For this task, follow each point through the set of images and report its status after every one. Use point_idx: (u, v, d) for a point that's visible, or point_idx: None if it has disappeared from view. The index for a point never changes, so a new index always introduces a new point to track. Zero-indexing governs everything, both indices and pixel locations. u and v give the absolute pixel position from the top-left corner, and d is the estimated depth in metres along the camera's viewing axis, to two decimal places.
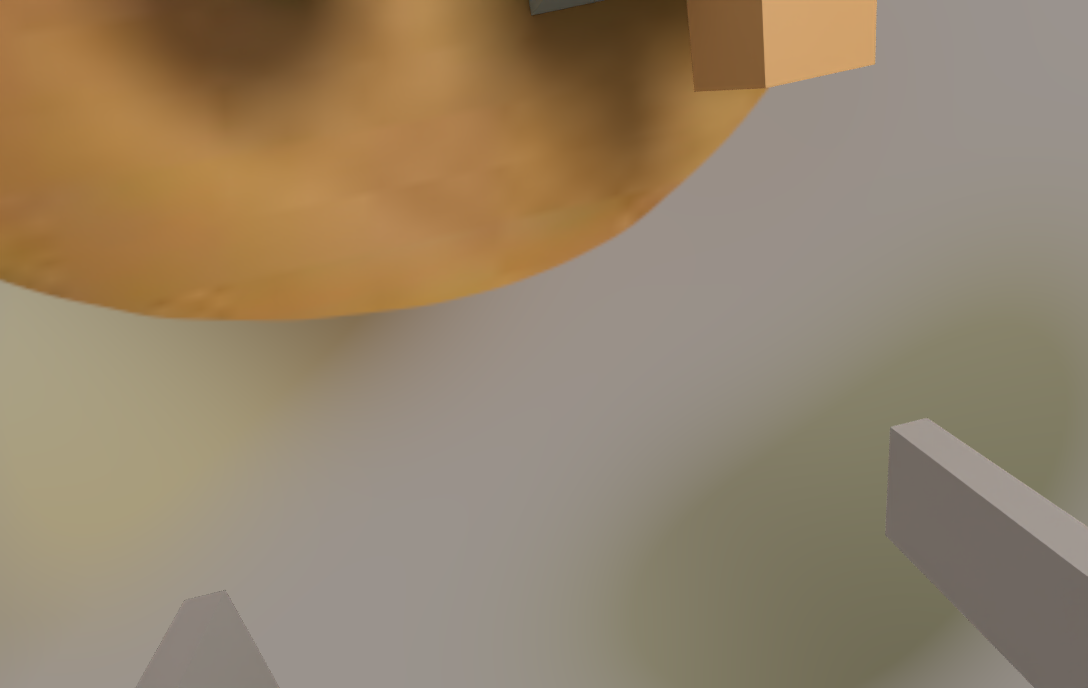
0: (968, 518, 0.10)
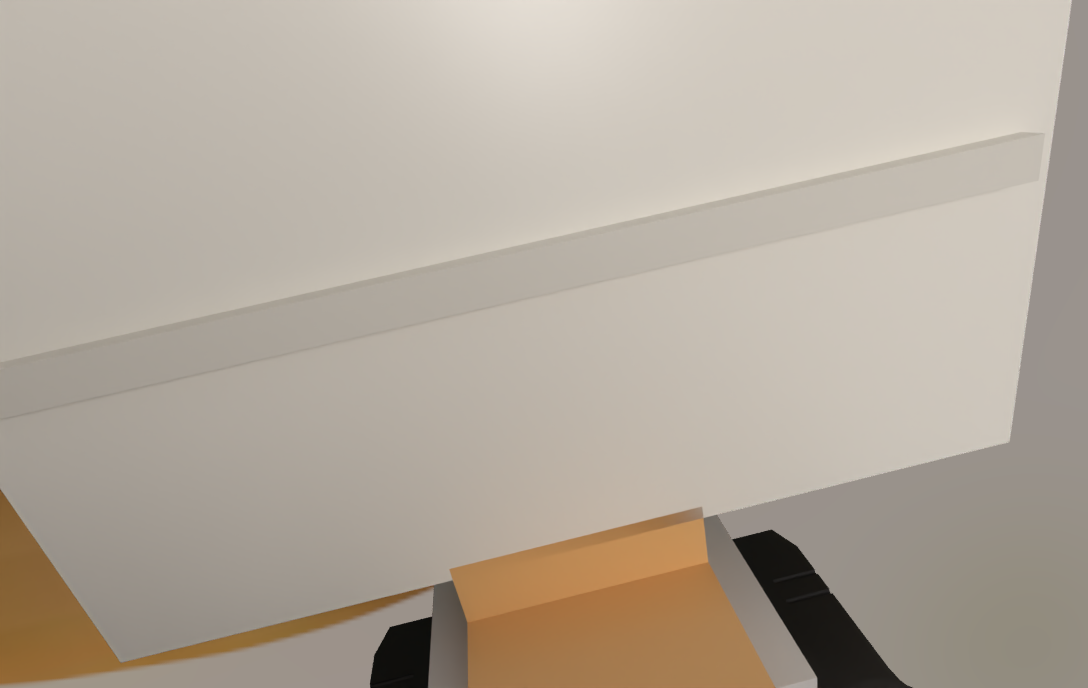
0: None
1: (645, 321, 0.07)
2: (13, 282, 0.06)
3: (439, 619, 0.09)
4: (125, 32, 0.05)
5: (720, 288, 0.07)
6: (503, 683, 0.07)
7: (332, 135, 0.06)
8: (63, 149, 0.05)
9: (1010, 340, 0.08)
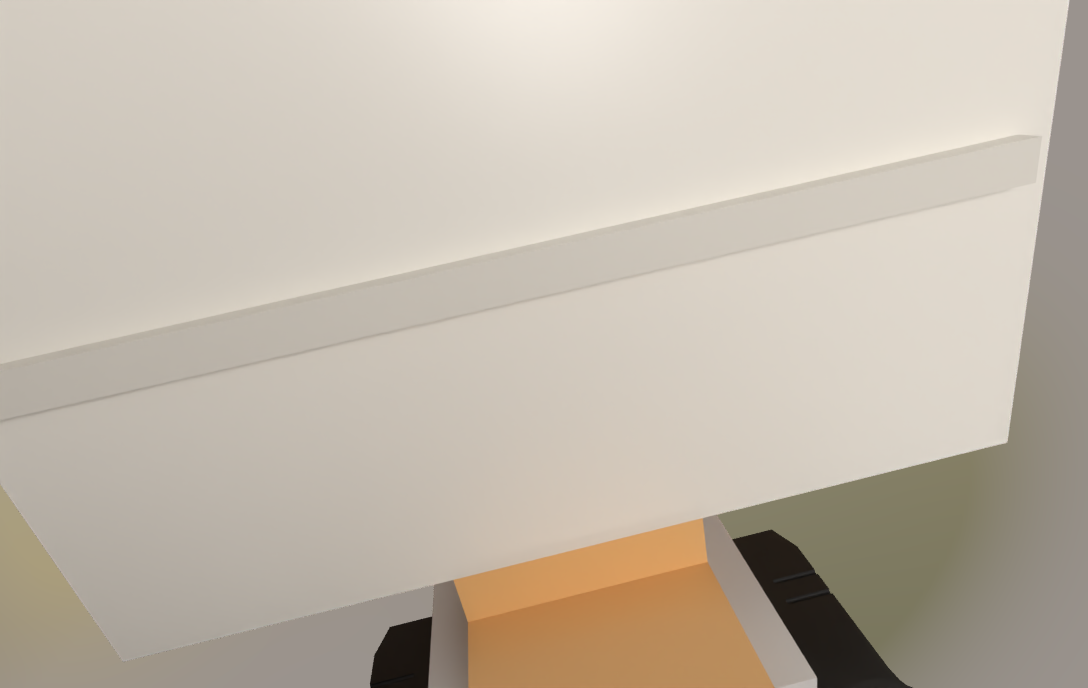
0: None
1: (644, 323, 0.07)
2: (17, 283, 0.06)
3: (439, 619, 0.09)
4: (129, 35, 0.05)
5: (719, 290, 0.07)
6: (502, 684, 0.07)
7: (334, 138, 0.06)
8: (67, 151, 0.05)
9: (1008, 341, 0.08)
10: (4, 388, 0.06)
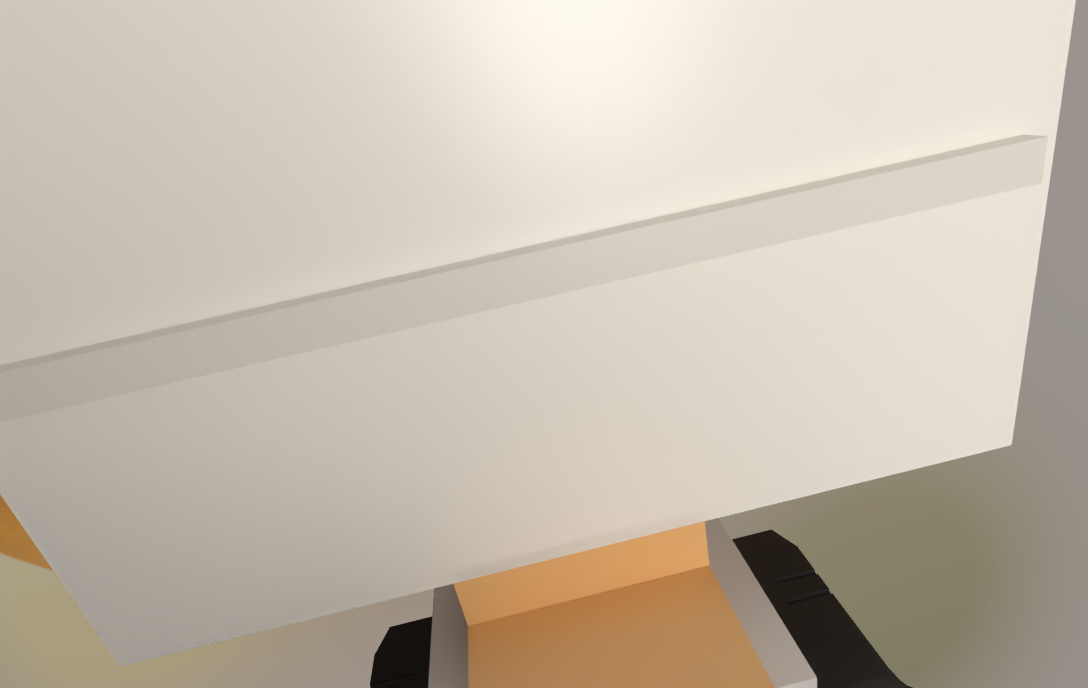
0: None
1: (646, 324, 0.07)
2: (12, 285, 0.06)
3: (439, 619, 0.09)
4: (124, 34, 0.05)
5: (722, 291, 0.07)
6: None
7: (332, 138, 0.06)
8: (62, 152, 0.05)
9: (1012, 343, 0.08)
10: None
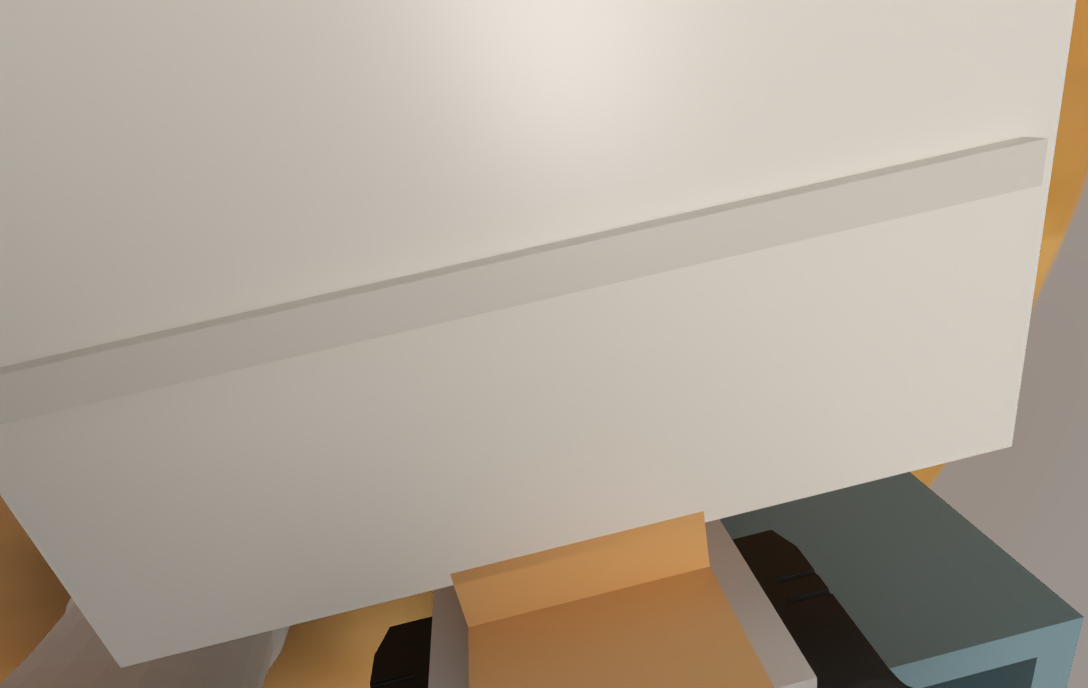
0: None
1: (646, 325, 0.07)
2: (12, 287, 0.06)
3: (439, 619, 0.09)
4: (125, 37, 0.05)
5: (722, 293, 0.07)
6: None
7: (333, 140, 0.06)
8: (63, 154, 0.05)
9: (1013, 345, 0.08)
10: None
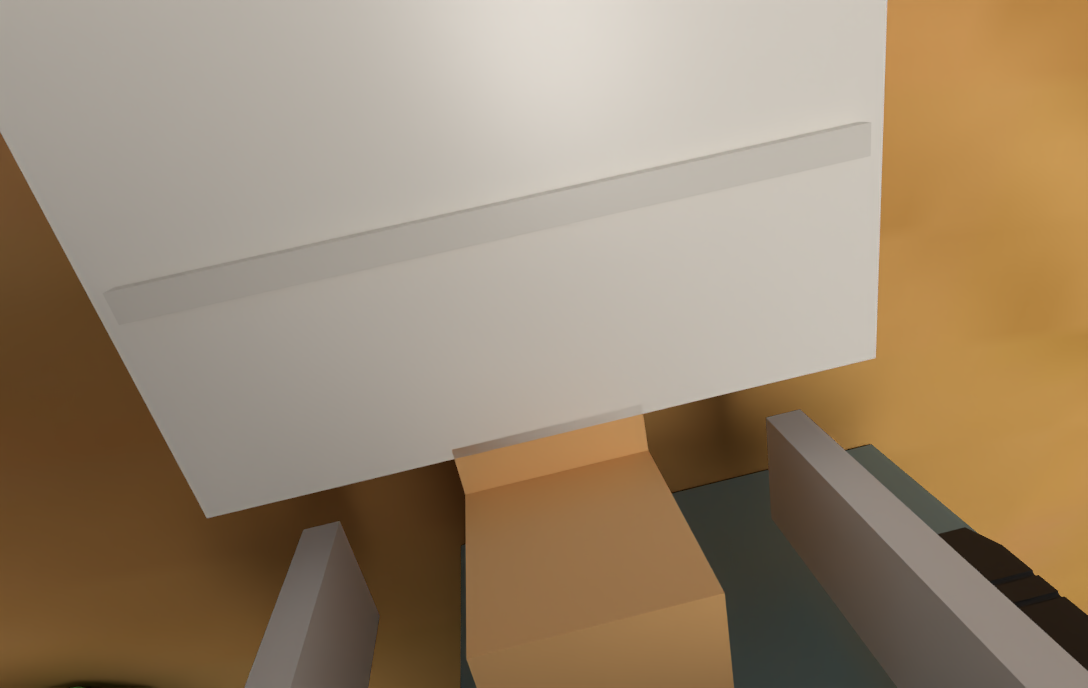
0: (818, 498, 0.11)
1: (593, 258, 0.09)
2: (152, 224, 0.08)
3: None
4: (238, 54, 0.08)
5: (647, 234, 0.09)
6: (491, 527, 0.10)
7: (372, 123, 0.08)
8: (192, 132, 0.08)
9: (868, 277, 0.10)
10: (141, 298, 0.09)
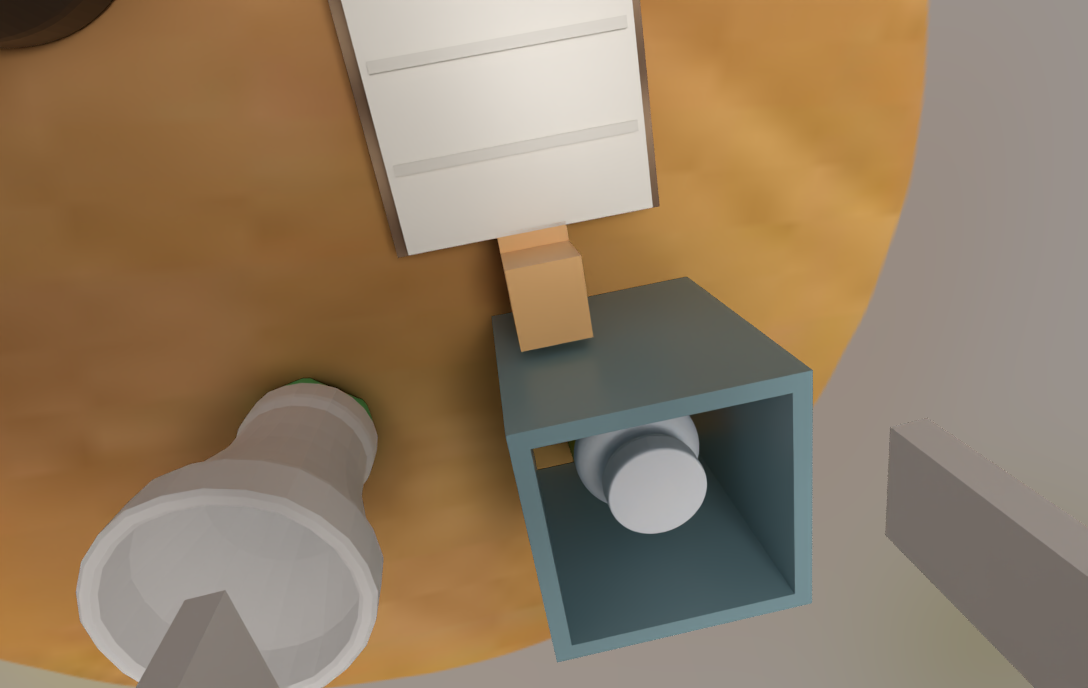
0: (968, 519, 0.10)
1: (547, 163, 0.28)
2: (409, 145, 0.27)
3: None
4: (442, 94, 0.27)
5: (565, 155, 0.28)
6: (510, 256, 0.29)
7: (478, 115, 0.27)
8: (425, 116, 0.27)
9: (645, 175, 0.29)
10: (404, 168, 0.27)
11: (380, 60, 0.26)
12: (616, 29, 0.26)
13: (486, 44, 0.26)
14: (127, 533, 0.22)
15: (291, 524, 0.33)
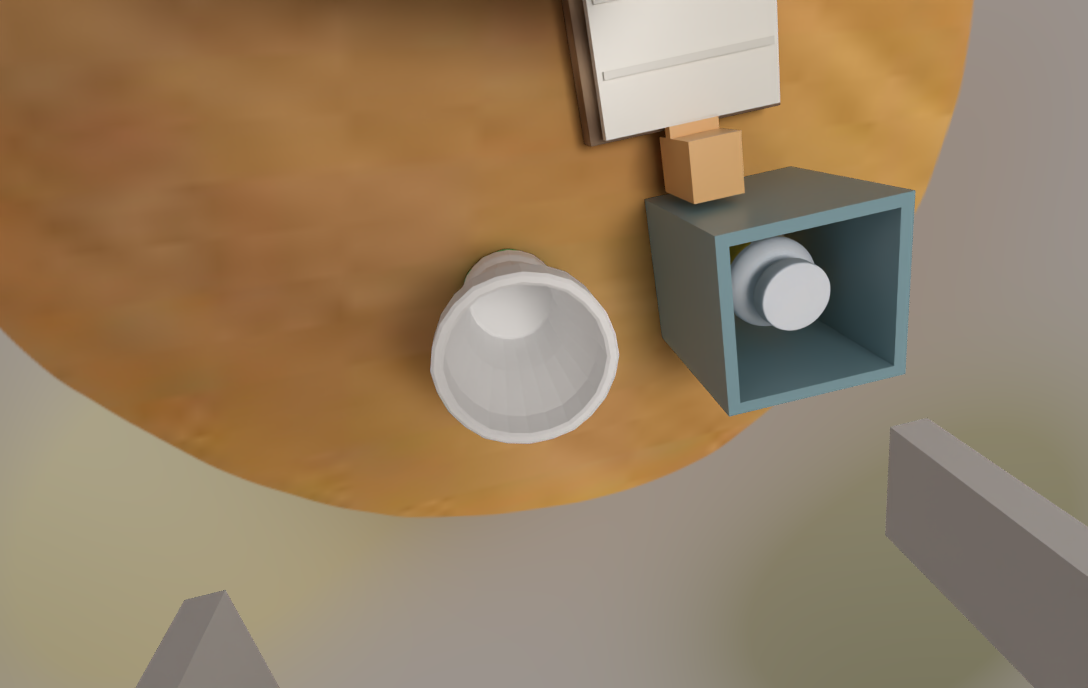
0: (968, 519, 0.10)
1: (708, 69, 0.39)
2: (614, 56, 0.38)
3: None
4: (640, 18, 0.38)
5: (721, 63, 0.39)
6: (682, 138, 0.40)
7: (664, 34, 0.38)
8: (627, 35, 0.38)
9: (776, 77, 0.40)
10: (611, 73, 0.38)
11: None
12: None
13: None
14: (471, 303, 0.33)
15: (506, 353, 0.45)
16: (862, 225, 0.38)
